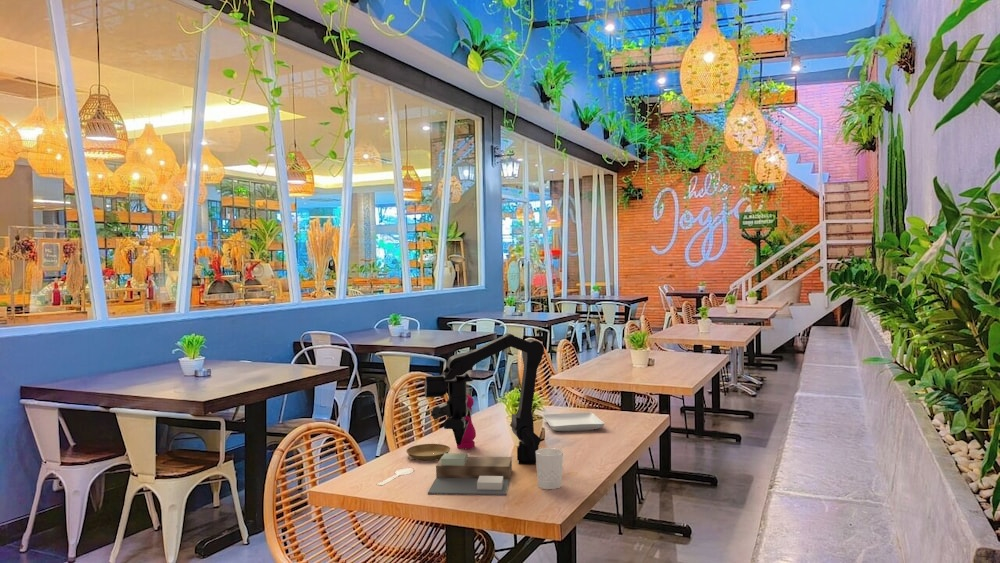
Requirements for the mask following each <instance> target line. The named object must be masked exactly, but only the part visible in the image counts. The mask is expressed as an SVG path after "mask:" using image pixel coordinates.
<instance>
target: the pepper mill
mask: <svg viewBox="0 0 1000 563" xmlns="http://www.w3.org/2000/svg"><path fill="white" fill-rule="evenodd" d="M467 398H468V401H467V407H469V408H470V409H471V414H472V413H473V408H472V407H473V405H474V403H475V401H474V398H473V397H472V396H471V395H469V394H467ZM464 418H465V420H468V421H469V422H468V425H467V428H466V431H465V433H464V436H463V439H462V442H461V444H460V445H457V444H456V448H457V449H460V450H471V449H474V448H475V446H476V445H475V438H476V436H477V434H476V433H477V432H476V428H475V426H474V423H473V421H472V416H471V417H468V416H466V417H464Z"/></svg>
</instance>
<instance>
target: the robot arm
mask: <svg viewBox="0 0 1000 563" xmlns="http://www.w3.org/2000/svg"><path fill="white" fill-rule="evenodd" d="M509 348H513V349H516V350H519V351H521V356H522V364H523V370H522V379H521V386H520V395H519V401H518V402H519V403H518V409H517V411H516V413H515V414H514V413H511V422H510V424H509V426H510V427H511V431H512V433H513V434H514V436H515V437H517V439H518V440H519V442H518V445H517V446H516V447H517V448H516V452H517V453H516V455H517V456H516V457H517V462H518V464H519V465H521V464H522V465H536V450H538V449H540V448H539V445H540V444H541V440H542V439H541V438H540V437H539V436H538V434H536V433H535V428H534V417H533V413H532V411H533V404H534V396H535V395H534V394H535V387H536V381H537V380H536V379H537V372H538V368H539V367H540V364H541V362H542V360H543V355H544V352H545V347H544V345H543V343H542V342H540V341H538V340H536V339H533V338H528V339H524V338H521V337H518V336H515V335H514V334H511V333H504V334H503V335H502V336H500V337H497V338H496V339H494V340H491V341H489V342H487V343H485V344H483V345H481V346H479V347H477V348H475V349H472V350H470V351H464V352H460V353H457V354H454V355H452V356H450V357H449V358H448V360H447V362H446V367H444V370H443V371H442V373H441V374H440V375H425V380H424V385H423V386H424V389H423V390H424V398H426V399H427V398H429V399H430V398H443V397H445V395H447V394H448V399H447V401H446V403H443V404H440V405H436V406H433V407H432V408H431V409H430V416H431V417H432V418H433V420H434V421H437V420H438V419H440V418H442V417H445V416H446V419H445V420H444V422H443V429H444V430H452V432H453V436H454V439H455V442H456V446H457V445H460V444H461V442H462V439H463V436H464V433H465V431H466V428H467V425H468V422H469V421H468V420H465V418H464V417H466V416H468V417H471V418H472V413H471V409H470V408H469V407H467V401H468V398H467V395H468V390H467V384H468V383H467V382H470V383H471V382H473V381H474V380H473V378H471V376H469V373H468V371H471V370H472V368H474V366H475V365H477V364H478V363H480V362H482V361H484V360H486V359H488V358H490V357H492V356H494V355H496V354H498V353H500V352H502V351H504V350H506V349H509Z"/></svg>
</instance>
